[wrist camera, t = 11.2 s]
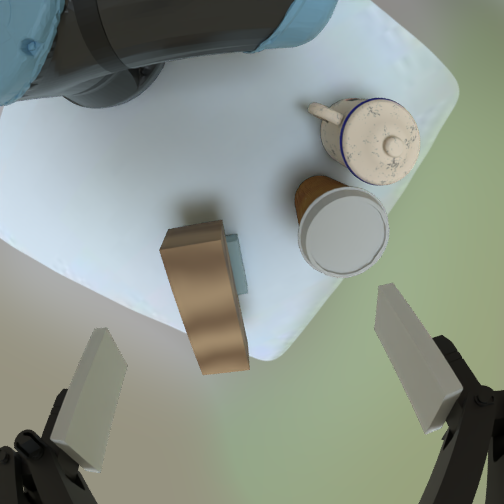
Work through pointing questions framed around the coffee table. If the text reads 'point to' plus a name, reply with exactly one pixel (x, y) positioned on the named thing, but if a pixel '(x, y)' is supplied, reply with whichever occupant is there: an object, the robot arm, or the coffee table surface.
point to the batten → (206, 295)
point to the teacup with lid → (370, 138)
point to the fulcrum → (236, 264)
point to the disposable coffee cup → (339, 227)
